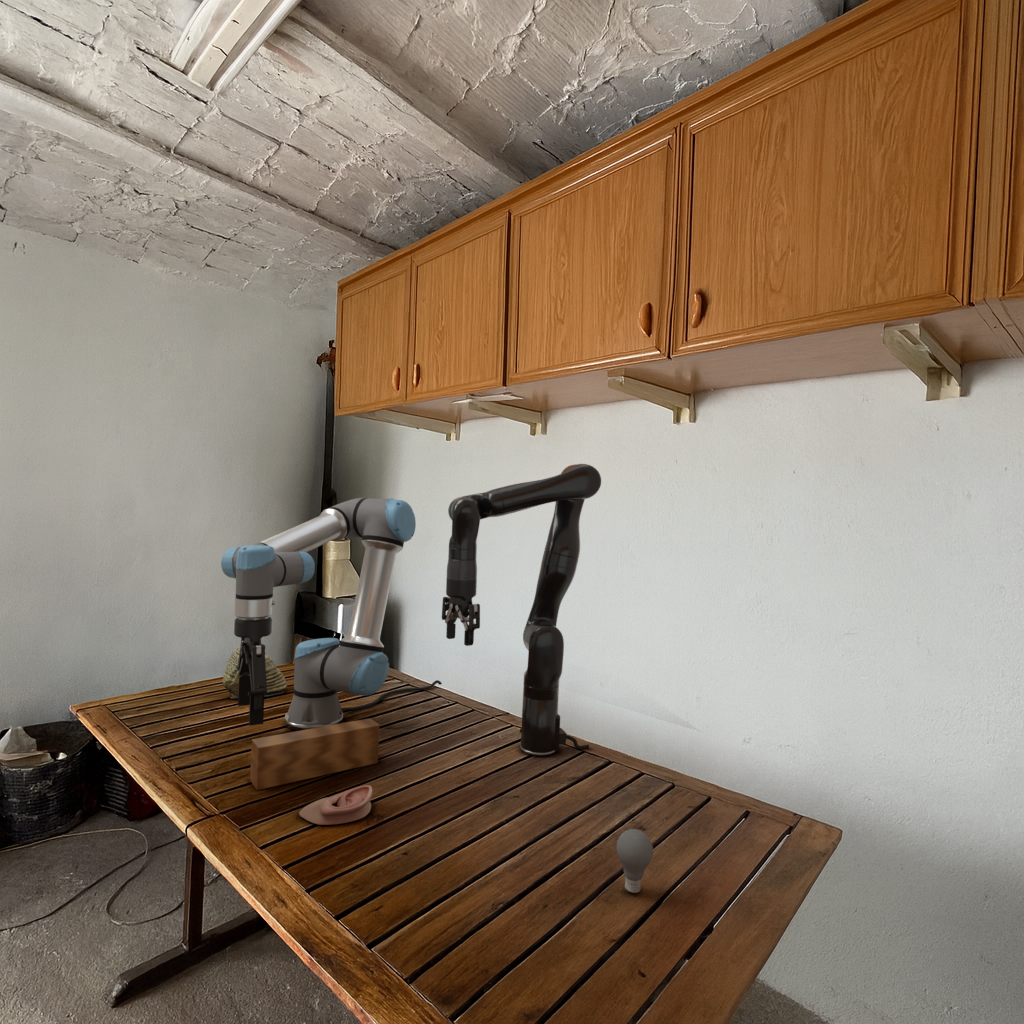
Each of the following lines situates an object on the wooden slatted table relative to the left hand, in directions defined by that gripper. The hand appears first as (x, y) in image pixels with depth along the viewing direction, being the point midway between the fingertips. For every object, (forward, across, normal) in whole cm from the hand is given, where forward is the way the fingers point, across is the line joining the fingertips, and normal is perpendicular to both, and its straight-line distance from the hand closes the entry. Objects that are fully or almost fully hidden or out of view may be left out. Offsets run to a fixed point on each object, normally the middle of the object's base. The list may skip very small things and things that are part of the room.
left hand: (250, 714), depth 138 cm
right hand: (-13, -6, -48) cm, 50 cm away
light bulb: (+15, -69, -48) cm, 86 cm away
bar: (+15, 0, -15) cm, 21 cm away
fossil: (+16, +63, -13) cm, 66 cm away
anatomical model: (+15, -21, -13) cm, 29 cm away
